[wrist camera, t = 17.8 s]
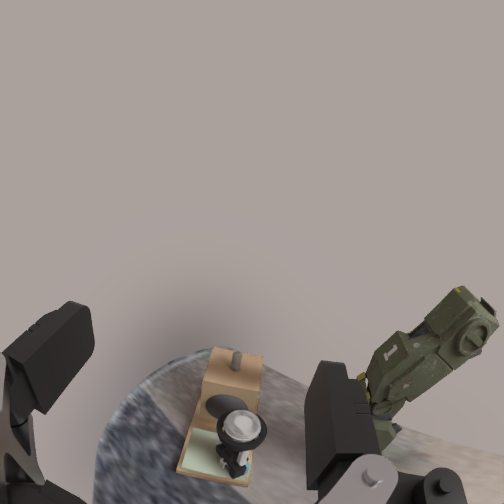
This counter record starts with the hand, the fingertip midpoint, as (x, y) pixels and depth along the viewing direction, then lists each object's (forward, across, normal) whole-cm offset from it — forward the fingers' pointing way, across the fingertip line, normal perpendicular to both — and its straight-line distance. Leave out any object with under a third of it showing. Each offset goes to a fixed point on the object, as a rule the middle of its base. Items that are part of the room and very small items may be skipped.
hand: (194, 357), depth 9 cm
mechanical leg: (+14, -20, +30) cm, 39 cm away
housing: (+17, -1, +30) cm, 35 cm away
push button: (+12, -3, +29) cm, 32 cm away
